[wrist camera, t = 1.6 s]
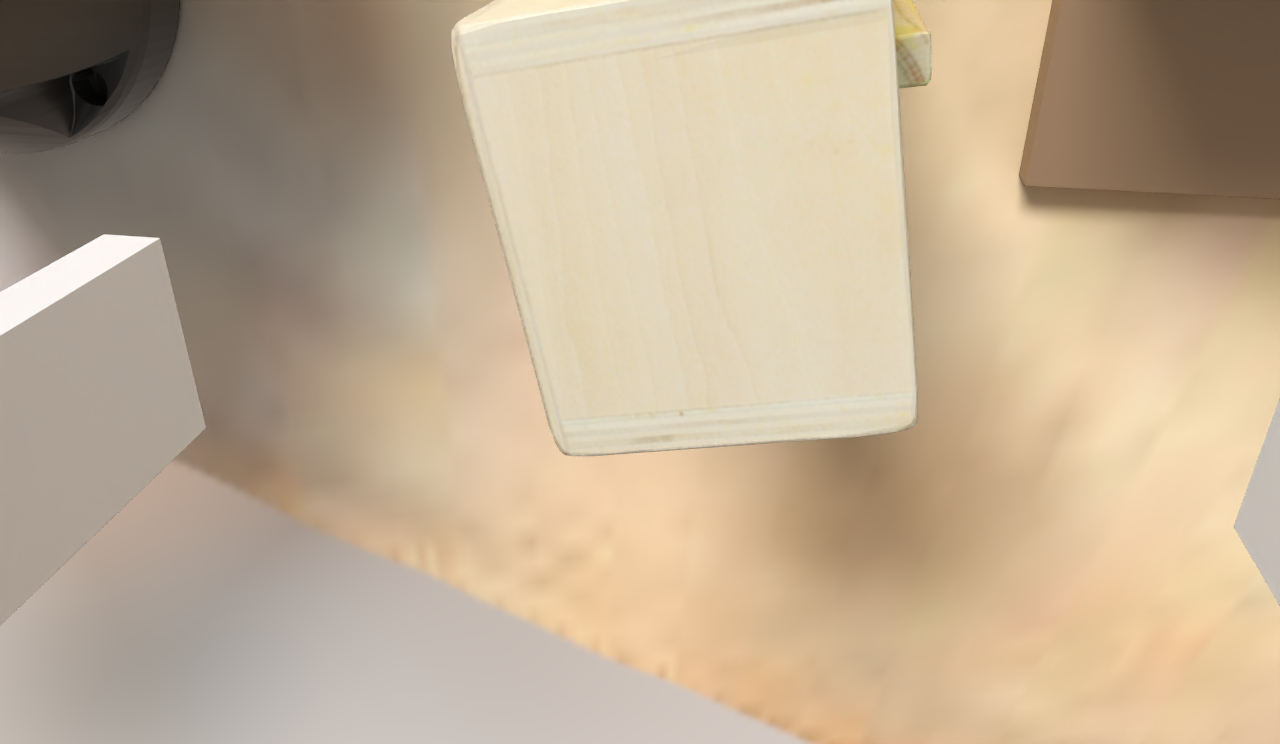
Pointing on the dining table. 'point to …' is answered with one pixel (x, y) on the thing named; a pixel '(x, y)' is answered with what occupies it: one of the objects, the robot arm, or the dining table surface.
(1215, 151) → the cleat board
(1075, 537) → the dining table surface
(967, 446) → the dining table surface
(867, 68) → the toy refrigerator
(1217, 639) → the dining table surface
